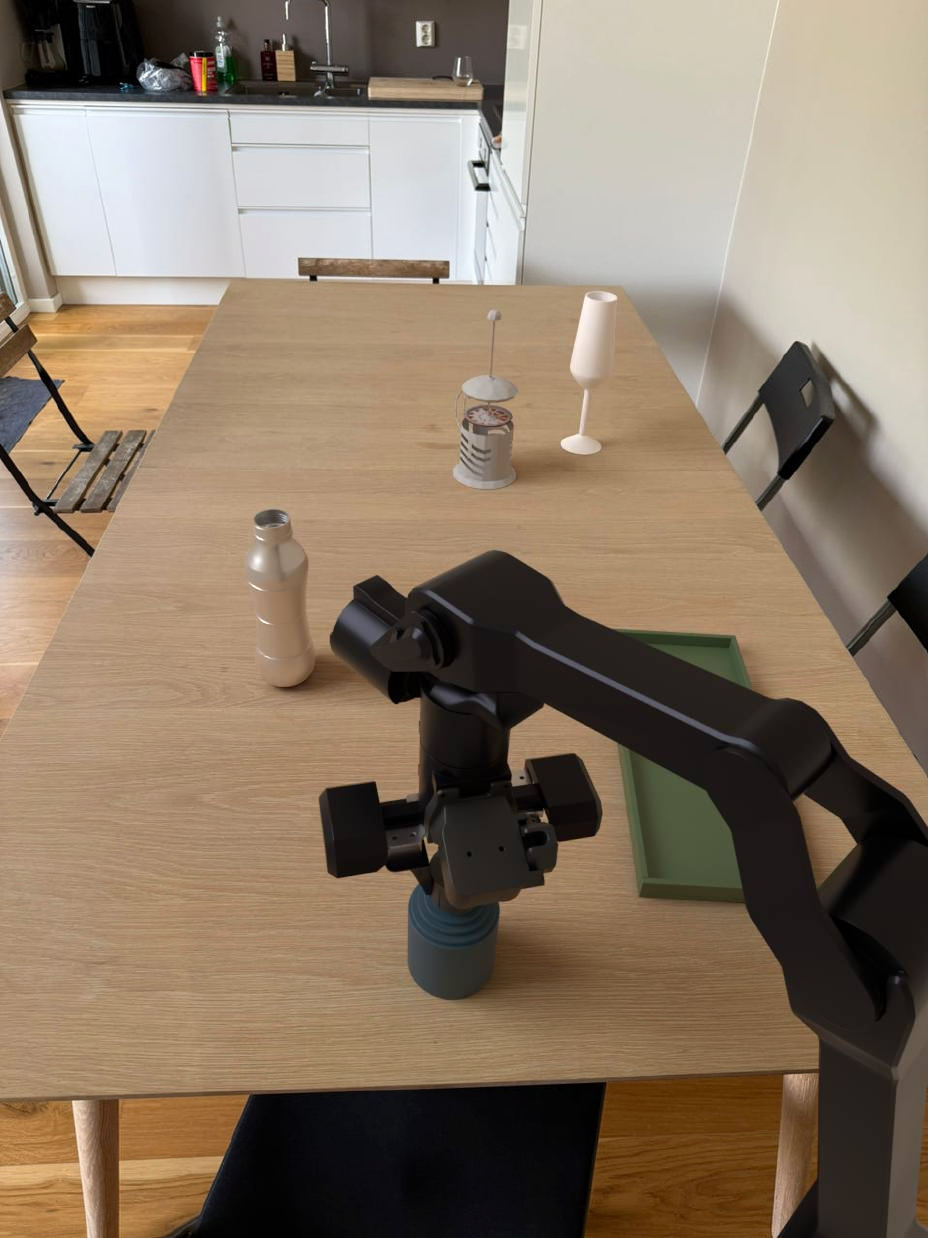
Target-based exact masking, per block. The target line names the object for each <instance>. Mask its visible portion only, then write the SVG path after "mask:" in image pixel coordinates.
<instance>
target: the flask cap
mask: <svg viewBox="0 0 928 1238" xmlns="http://www.w3.org/2000/svg"><path fill="white" fill-rule="evenodd" d="M429 863H430V867H429V868H430V873H431V879H432V884H433V887H432V894H431V895H429V897H430V898H431V900H432V902H433V903H434V904H435V905H436V906H437V907H438V908H439V909H441V910H443V911H445V912H448V913H455V914H458V913H464V912H467V911H470V910H471V909H473V908H474V907H476V906H474V907H471V908H466V909H459V908H456V907H454V906H452V905H451V904H450V903H449V901H448V899H447V897H446V892H445V885H444V879H443V874H442V868H441V863H440V858H439V852H438V850H437V851H435V853H433V855H432V857H431V858H430V859H429Z"/></svg>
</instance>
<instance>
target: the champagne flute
mask: <svg viewBox="0 0 928 1238" xmlns="http://www.w3.org/2000/svg"><path fill="white" fill-rule="evenodd" d="M582 304H583V305H582V307H581V313H580V318H579V322H578V326H577V331H576V336H575V340H574V345H573V348H572V349H573V350H572V354H571V359H570V364H569V371H570V374H571V375H572V378H573V379H574V381H576V382H577V383H578V384H579V386H580V387H581V388H583V389H584V392H583V393H584V395H583V401H582V408H581V415H580V422H579V423H580V424H579V429H578V430H579V431H578V433H576V434H572V435H569V436H567V437H565V438H563V439H562V440H561V441H560V445H561V447H562V449H563V450H565V451H567V452H569V453H572V454H575V455H582V456H583V455H584V456H588V455H595V454H596V453H598V452H600V451H601V450H602V444H601V443H600V442H599V441H598V440H596V439H595V438H593V437H591V436H590V435H588V434H587V432H588V423H589V418H590V411H591V402H592V396H593V390H596V389H598V388H599V387H600V386H602V385H604V384H605V383H607V381H608V380H609V379H610V378H611V376H612V375H613V373H614V368H615V349H616V334H617V333H616V331H617V312H618V295H615V294H614V293H612V292H608V291H603V290H602V291H600V290H595V291H594V290H593V291H588V292H587V293H585V294H584V298H583V303H582Z"/></svg>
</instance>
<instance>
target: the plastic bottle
mask: <svg viewBox="0 0 928 1238" xmlns="http://www.w3.org/2000/svg"><path fill="white" fill-rule="evenodd" d="M252 527H253V529H252V535H253V539H254V541H253V543H252V544H251V546H250V548H249V549H248V551H247V553H246V555H245V557H244V563H243V569H244V574H245V578H246V581H247V584H248V588H249V591H250V594H251V597H252V598H251V599H252V603H253V609H254V614H255V619H256V621H255V622H256V643H255V648H254V649H255V650H254V652H255V653H254V662H255V667H256V669H257V672H258V674H259V676H260V677H261V678H262V679H263V680H264V681H265V682H267V684H270V685H271V686H275V687H279V688H289V687H294V686H296V685H300V684H301V683H303V682H305V681H306V680H307V678H308V677H310V675H311V674H312V673H313V671H314V669H315V665H316V664H315V663H316V657H317V656H316V654H317V653H316V649H315V644H314V640H313V637H312V635H311V631H310V625H309V620H308V614H307V612H308V611H307V587H308V575H309V558H308V555H307V553H306V550H305V549H304V547H303V546H302V545H301V544H300V543H299V542H298V541H297V540H296V539H295V538H294V537H293V534H294V531H293V530H294V529H293V526H292V521H291V515H290V513H288V511H287V510H284V509H280V508H267V509H263V510H260V511H258V512H256V513H255V514H254V515H253V517H252Z"/></svg>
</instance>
